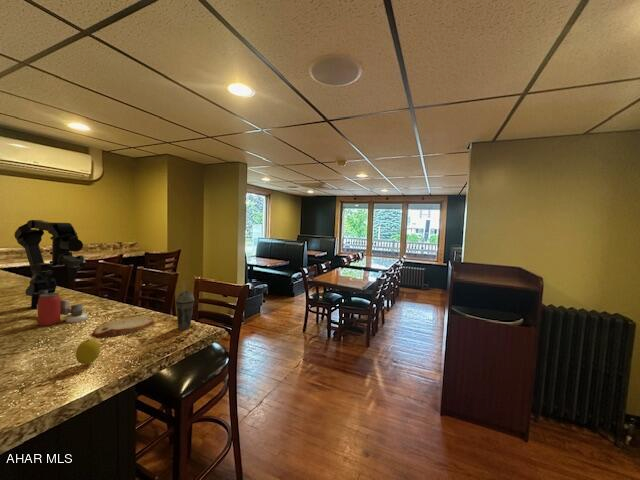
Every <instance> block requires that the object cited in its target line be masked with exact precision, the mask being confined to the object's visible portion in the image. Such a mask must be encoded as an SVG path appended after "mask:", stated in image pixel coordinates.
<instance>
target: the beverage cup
mask: <svg viewBox="0 0 640 480" xmlns="http://www.w3.org/2000/svg"><path fill="white" fill-rule="evenodd" d="M182 287H183V291H182V292H180V293H179V294H177V297H176V299H175V305H176V306H175V307H176V317H177V320H176V321H177V327H178V328H177V329H178V330H181V331H184V330H185V331H186V330H189V329H190V328H191V324H192V315H193V308H194V305H195V297H194V294H193V293H191V291H186V289H185V281H182Z"/></svg>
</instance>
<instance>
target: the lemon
mask: <svg viewBox="0 0 640 480" xmlns="http://www.w3.org/2000/svg"><path fill="white" fill-rule="evenodd" d="M75 352H76V353H75V359H76V361H77V362H78V363H80V364H81V365H86V366H89V365H90V364H92V363H93V362H95V361H96V360H97V359H98V358H99V357H100V356H99V355H100V353H101V347H100V344H99V342H98V341H96V340H94V339H91V338H88V339H86V340H84V341H83V342H81V343H80V344H79V345H78V347H76V351H75Z"/></svg>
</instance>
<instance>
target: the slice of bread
mask: <svg viewBox="0 0 640 480" xmlns="http://www.w3.org/2000/svg"><path fill="white" fill-rule="evenodd" d="M154 324H155V320H154V318H153V317H152V316H148V315H142V316H133V317H127V318H126V317H125V318H122V319H121V318H120V319H116V320H112V321H109V320H108V321H104V322H103V323H101V324H99V325H98V326H96V328H95V329H94V330H93V331H92V337H94V338H99V339H100V338H107V337H108V338H110V337H111V336H112V337H119V336H123V335H124V336H125V335H128V334H131V333H132V332H133V333H135V332H139V331H142V330H145V329H147V328H149V327H151V326H153V325H154ZM138 330H139V331H138Z"/></svg>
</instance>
